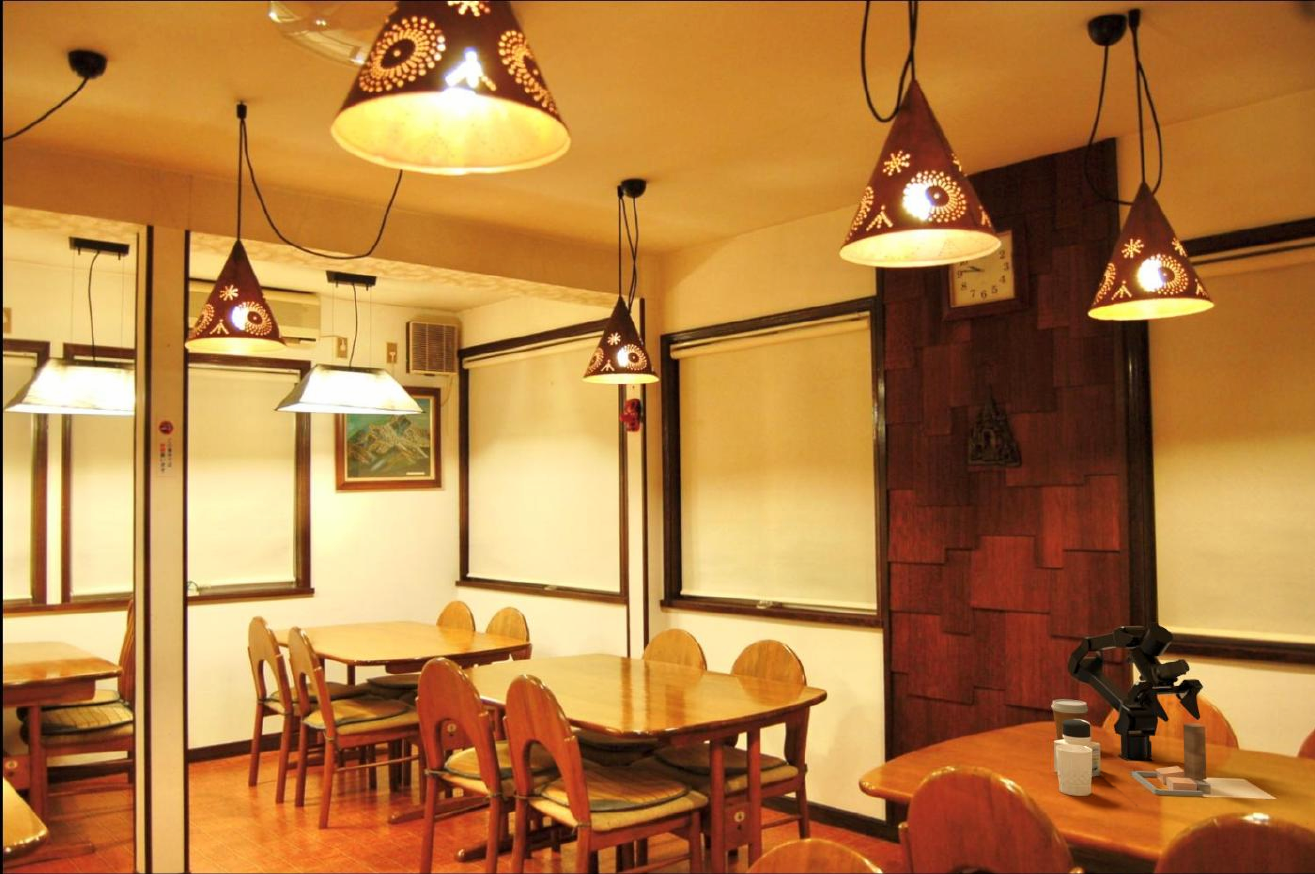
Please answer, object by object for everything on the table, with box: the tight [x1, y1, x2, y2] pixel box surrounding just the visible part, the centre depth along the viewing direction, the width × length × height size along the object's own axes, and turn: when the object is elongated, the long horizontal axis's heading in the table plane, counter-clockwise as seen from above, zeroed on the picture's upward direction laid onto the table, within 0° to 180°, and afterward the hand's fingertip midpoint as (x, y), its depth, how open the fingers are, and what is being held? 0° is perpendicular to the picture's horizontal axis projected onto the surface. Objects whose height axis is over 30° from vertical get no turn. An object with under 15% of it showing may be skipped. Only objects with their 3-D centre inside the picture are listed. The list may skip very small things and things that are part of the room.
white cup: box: [1056, 744, 1092, 797], centre depth 240 cm, size 8×8×10 cm
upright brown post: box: [1182, 723, 1211, 794], centre depth 241 cm, size 4×12×14 cm, turn 170°
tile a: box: [1166, 777, 1197, 791], centre depth 237 cm, size 5×5×3 cm
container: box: [1053, 719, 1102, 777], centre depth 257 cm, size 8×8×13 cm
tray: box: [1130, 770, 1204, 798], centre depth 241 cm, size 10×17×2 cm, turn 173°
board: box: [1203, 777, 1277, 800], centre depth 240 cm, size 16×17×1 cm
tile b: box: [1155, 765, 1186, 785], centre depth 245 cm, size 5×5×3 cm
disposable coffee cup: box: [1050, 699, 1089, 740], centre depth 285 cm, size 10×10×12 cm
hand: (1183, 719), depth 255 cm, fingers open, 9 cm apart
